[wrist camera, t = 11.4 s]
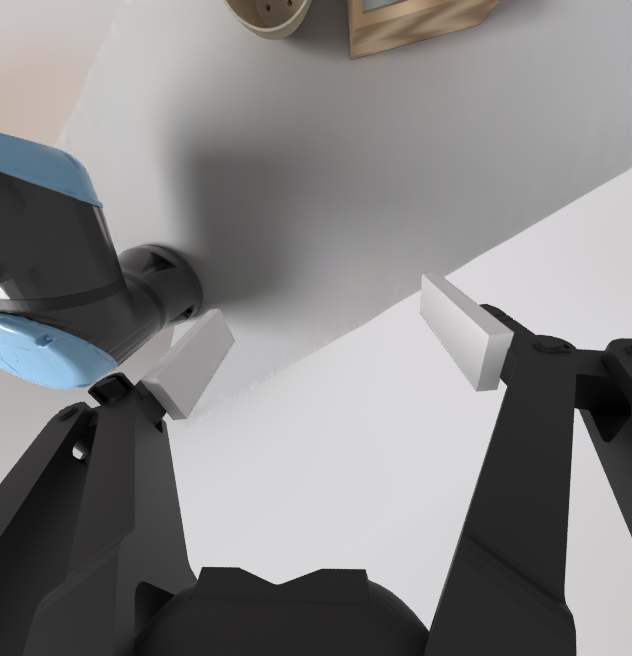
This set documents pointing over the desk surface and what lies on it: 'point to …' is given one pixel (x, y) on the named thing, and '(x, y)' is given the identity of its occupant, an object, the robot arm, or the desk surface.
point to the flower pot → (270, 16)
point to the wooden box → (408, 21)
